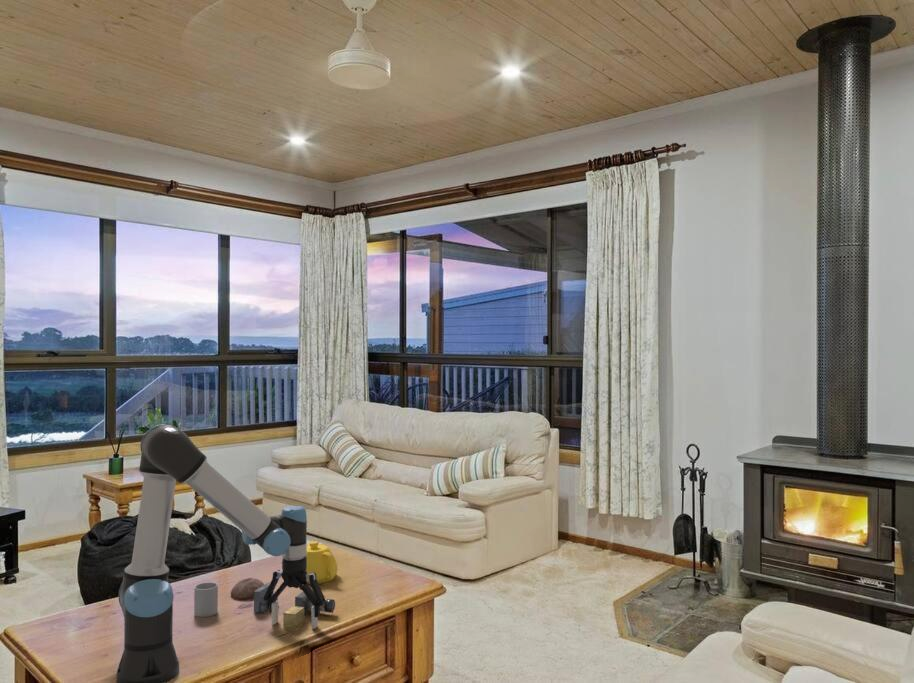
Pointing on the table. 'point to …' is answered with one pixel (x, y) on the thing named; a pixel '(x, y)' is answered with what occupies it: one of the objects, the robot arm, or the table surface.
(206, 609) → the cup
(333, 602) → the shaft
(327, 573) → the teapot
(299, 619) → the block
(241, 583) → the decorative stone
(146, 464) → the robot arm
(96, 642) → the table surface
